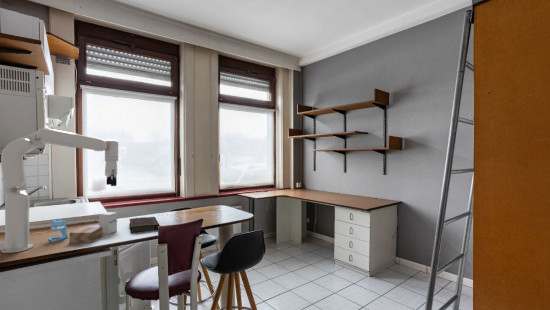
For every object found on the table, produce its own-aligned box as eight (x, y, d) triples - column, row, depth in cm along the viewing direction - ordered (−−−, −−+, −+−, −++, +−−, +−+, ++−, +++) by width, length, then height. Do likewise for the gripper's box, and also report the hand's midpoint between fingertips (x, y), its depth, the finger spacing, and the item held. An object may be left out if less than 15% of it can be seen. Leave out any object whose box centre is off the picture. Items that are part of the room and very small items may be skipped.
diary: (155, 222, 212) (155, 216, 212) (160, 231, 190) (160, 223, 190) (128, 225, 202) (128, 218, 202) (129, 234, 181) (129, 226, 181)
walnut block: (69, 243, 161) (69, 232, 161) (82, 236, 173) (82, 227, 173) (91, 242, 162) (91, 232, 162) (102, 236, 174) (102, 226, 174)
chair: (69, 238, 169) (69, 218, 169) (53, 242, 162) (53, 221, 162) (64, 236, 174) (64, 217, 174) (48, 239, 167) (48, 219, 167)
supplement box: (108, 234, 178) (108, 214, 178) (98, 233, 180) (98, 214, 180) (117, 231, 186) (117, 212, 185) (107, 230, 187) (107, 211, 187)
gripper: (101, 158, 185) (101, 184, 185) (108, 159, 173) (108, 186, 173) (114, 158, 190) (113, 183, 190) (122, 159, 178) (121, 186, 178)
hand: (111, 185), depth 182 cm, fingers open, 9 cm apart
